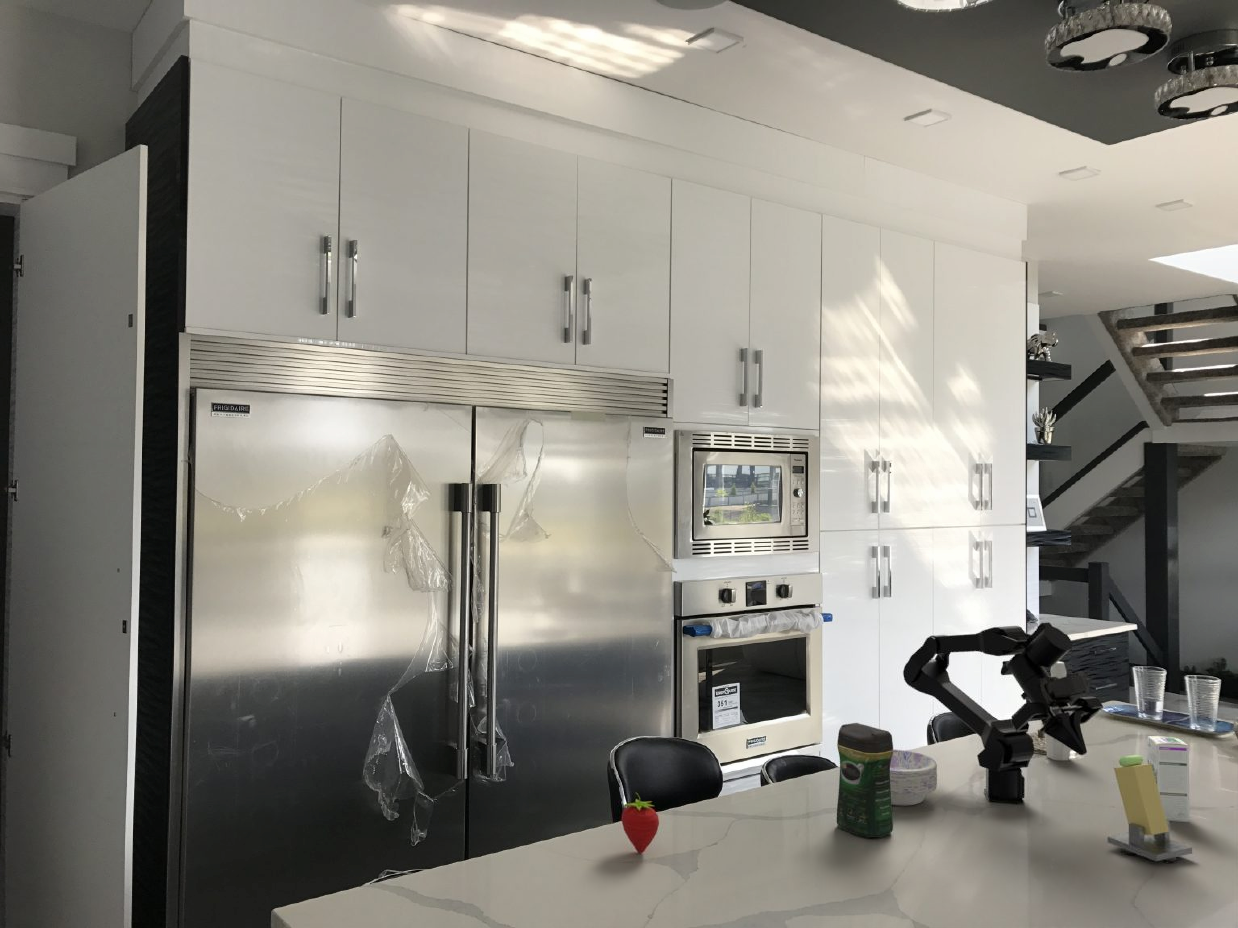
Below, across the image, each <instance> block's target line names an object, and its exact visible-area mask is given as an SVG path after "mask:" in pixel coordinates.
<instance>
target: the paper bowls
mask: <svg viewBox="0 0 1238 928" xmlns="http://www.w3.org/2000/svg"><path fill="white" fill-rule="evenodd" d="M937 771H938V764H937V761H936V760H935V759H934V758H932V757H931V756H928V755H925V754H923V753H919V752H914V751H909V750H902V749H894V748H893V756H892V758H891V763H890V788H891V803H892V806H899V807H900V806H906V807H908V806H914V805H918V804H920V803H922V802H923V801H924V800H925V799H926V796H927V794H931V793H932V792H935V790H937V787H938V772H937Z"/></svg>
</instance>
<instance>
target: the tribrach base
mask: <svg viewBox="0 0 1238 928" xmlns="http://www.w3.org/2000/svg"><path fill="white" fill-rule="evenodd" d="M1167 825H1168V828H1169V832H1164V833H1159V834H1154V835H1144V826H1141V825H1138V824H1135V823H1131V824H1128V832H1124V833H1118V834H1115V835H1108V836H1107V844H1111V845H1113V846H1116V847H1118V848H1120V853H1122V854H1124V855H1127V856H1133V857H1134V856H1138V855H1139V856H1140V857H1141V856H1142V857H1144V858H1147V859H1149V860H1152V861H1155V862H1159V861H1160V862H1162V863H1164V864H1165V863H1166V864H1173V865H1174V864H1176V863H1177V857H1182V856H1186V855H1191V854H1193V846H1190V845H1186V844H1185V843H1181V842H1178V841H1175V840H1173V839H1171V837H1170V836H1171V833H1170V832H1171V831H1170V830H1171V829H1170V828H1171V821H1167Z"/></svg>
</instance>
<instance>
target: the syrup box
mask: <svg viewBox="0 0 1238 928" xmlns="http://www.w3.org/2000/svg"><path fill="white" fill-rule="evenodd" d="M1189 747H1190V746H1189V744H1187V743H1186V742H1184V741H1183V740H1181V739H1180V738H1178V737H1174V736H1166V735H1165V736H1163V735H1161V736H1160V735H1154V736H1153V735H1152V736H1151V735H1149V736H1147V764H1151V766H1152V769H1153V773H1154V777H1155V780H1156V784H1157V788H1158V791H1159V795H1160V799H1161V802H1162V806H1163V810H1164V814H1165V817H1166V821H1169V822H1177V823H1178V822H1180V823H1181V822H1183V823H1190V817H1191V816H1190V809H1191V808H1190V800H1191V799H1190V758H1189V757H1190V756H1189V755H1190V753H1189V752H1190V751H1189Z"/></svg>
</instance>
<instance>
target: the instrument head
mask: <svg viewBox="0 0 1238 928" xmlns="http://www.w3.org/2000/svg"><path fill="white" fill-rule="evenodd" d="M1118 763H1119V765H1120V766H1116V767H1113V770H1114V773H1115V778H1116V781H1117V785H1118V789H1119V794H1120V797H1121V801H1122V804H1123V808H1124V811H1125V815H1126V816H1125V817H1126V820H1127V824H1128V825H1129V824H1131V823H1135V824H1138V825H1141V826H1144V835H1154V834H1159V833H1164V832H1169V828H1168V825H1167V821H1166V817H1165V814H1164V810H1163V806H1162V802H1161V799H1160V795H1159V791H1158V788H1157V784H1156V780H1155V777H1154V773H1153V769H1152V766H1151V764H1148V763H1144V759H1143V757H1142V755H1139V754H1135V755H1134V754H1133V755H1127V756H1123V757H1119V759H1118ZM1143 763H1144V764H1143Z"/></svg>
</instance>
